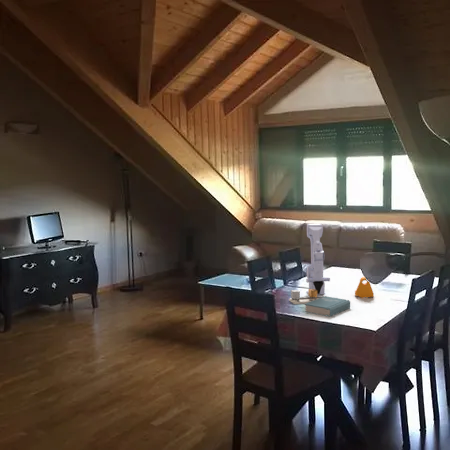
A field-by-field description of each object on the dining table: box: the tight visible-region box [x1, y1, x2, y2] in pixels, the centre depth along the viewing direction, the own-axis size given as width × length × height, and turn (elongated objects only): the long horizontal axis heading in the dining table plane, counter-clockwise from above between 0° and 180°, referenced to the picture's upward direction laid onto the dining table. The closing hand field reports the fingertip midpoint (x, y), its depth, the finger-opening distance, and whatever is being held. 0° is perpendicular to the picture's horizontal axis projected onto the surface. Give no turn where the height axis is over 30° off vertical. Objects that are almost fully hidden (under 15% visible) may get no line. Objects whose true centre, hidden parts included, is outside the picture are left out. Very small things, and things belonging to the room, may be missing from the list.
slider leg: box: [307, 288, 318, 299], centre depth 329 cm, size 4×7×5 cm, turn 14°
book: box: [304, 295, 351, 318], centre depth 309 cm, size 23×16×5 cm
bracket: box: [354, 276, 375, 298], centre depth 341 cm, size 11×7×12 cm, turn 79°
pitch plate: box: [288, 289, 325, 305], centre depth 328 cm, size 22×9×6 cm, turn 104°
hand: (317, 293), depth 332 cm, fingers closed
